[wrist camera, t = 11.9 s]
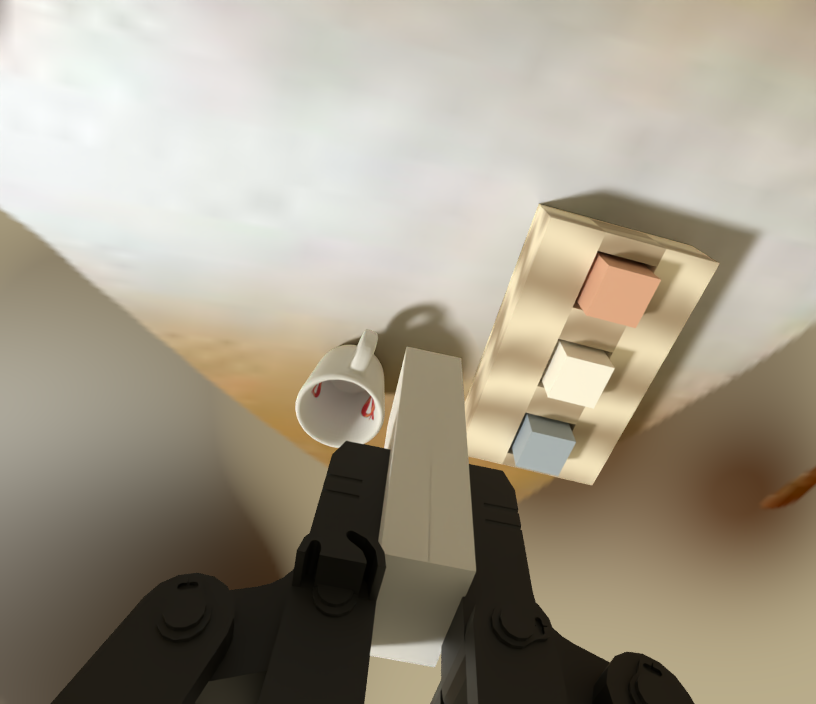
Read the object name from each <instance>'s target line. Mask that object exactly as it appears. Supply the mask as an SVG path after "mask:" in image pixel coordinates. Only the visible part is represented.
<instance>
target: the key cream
mask: <svg viewBox="0 0 816 704" xmlns="http://www.w3.org/2000/svg"><path fill="white" fill-rule="evenodd" d="M614 369H615V368H614V366H613V365H612V363H611V361H610V360H609V358H608V357H607V355H606V353H605V352H604V350H601V349H597V348H593V347H589V346H585V345H581V344H577V343H573V342H570V341H566V340H562V339H558V341H557V343H556V345H555V347H554V350H553V352H552V354H551V356H550V359H549V361H548V363H547V365H546V368H545V370H544V372H543V374H542V377H541V380H542V382H543V385H544V388H545V391H546V393H547V396H548V398H553V399H557V400H561V401H565V402H569V403H573V404H577V405H581V406H585V407H589V408H593V409H594V407H595V405H596V403H597V401H598V399H599V398H600V396H601V394H602V392H603V390H604V388H605V386H606V384H607V382H608V380H609V379H610V377H611V375H612V373H613V371H614Z"/></svg>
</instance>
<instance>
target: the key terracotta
mask: <svg viewBox="0 0 816 704" xmlns="http://www.w3.org/2000/svg"><path fill="white" fill-rule="evenodd" d="M660 282H661V279H660V278H659V277H657V276H656V275H655V274H654V273H653V272H652V271H650V270H649V269H648V268H647V267H646V266H645V265H643V264H642V263H641V262H638V261H634V260H630V259H627V258H623V257H619V256H615V255H612V254H608V253H604V252H601V251H597V254H596V256H595V258H594V260H593V263H592V265H591V267H590V269H589V272H588V274H587V276H586V278H585V280H584V283H583V285H582V287H581V289H580V292H579V294H578V296H577V298H576V301H577V302H578V304H579V305H580V307H581V308H582V310H583V312H584V313H585V315H586V316H590V317H594V318H598V319H602V320H606V321H610V322H613V323H617V324H621V325H625V326H629V327H633V328H636V327H637V325H638V323H639V321H640V320H641V318H642V316H643V314H644V312H645V310H646V308H647V306H648V304H649V302H650V301H651V299H652V297H653V295H654V293H655V291H656V289H657V287H658V285H659V283H660Z"/></svg>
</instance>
